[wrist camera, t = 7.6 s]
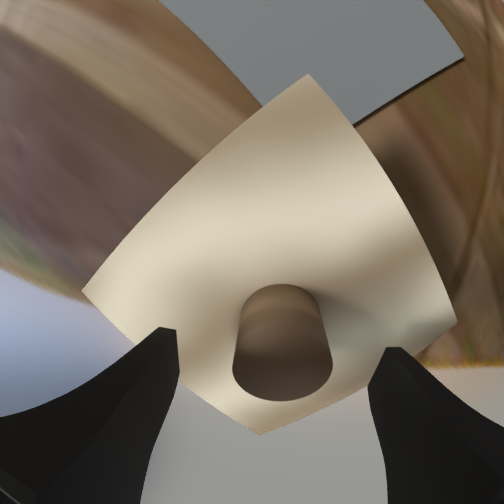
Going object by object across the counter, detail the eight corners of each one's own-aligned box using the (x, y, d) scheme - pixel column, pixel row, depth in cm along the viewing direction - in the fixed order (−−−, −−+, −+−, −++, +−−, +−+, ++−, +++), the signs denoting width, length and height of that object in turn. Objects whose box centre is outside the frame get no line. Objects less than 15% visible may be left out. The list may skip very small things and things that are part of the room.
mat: (461, 57, 12) (464, 56, 11) (302, 157, 16) (303, 158, 16) (325, -79, 8) (326, -82, 7) (155, -2, 12) (153, -4, 12)
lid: (450, 314, 11) (486, 358, 8) (259, 425, 15) (257, 475, 12) (305, 78, 8) (324, 43, 5) (90, 283, 12) (45, 325, 8)
